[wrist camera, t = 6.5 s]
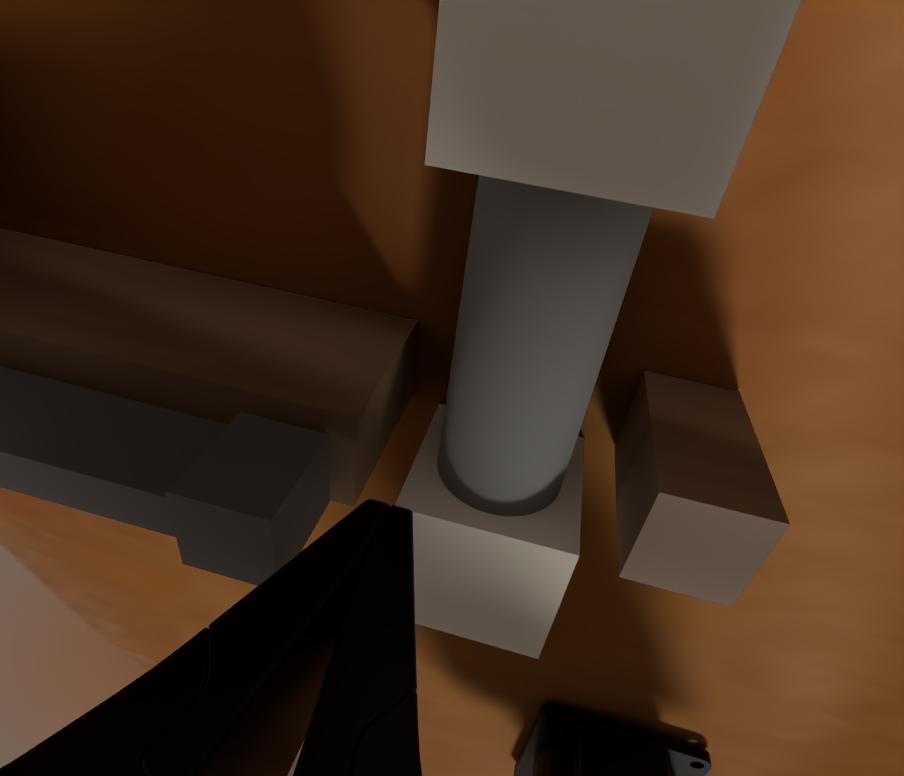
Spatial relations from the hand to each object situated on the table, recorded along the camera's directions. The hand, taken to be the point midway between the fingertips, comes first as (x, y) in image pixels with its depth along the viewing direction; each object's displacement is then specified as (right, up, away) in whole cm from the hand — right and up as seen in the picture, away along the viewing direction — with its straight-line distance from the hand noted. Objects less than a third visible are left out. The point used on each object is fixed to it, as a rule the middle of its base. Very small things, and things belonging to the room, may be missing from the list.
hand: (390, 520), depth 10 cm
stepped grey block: (-9, +3, +2) cm, 10 cm away
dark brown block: (-3, +4, +5) cm, 7 cm away
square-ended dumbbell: (+3, +4, +3) cm, 6 cm away
